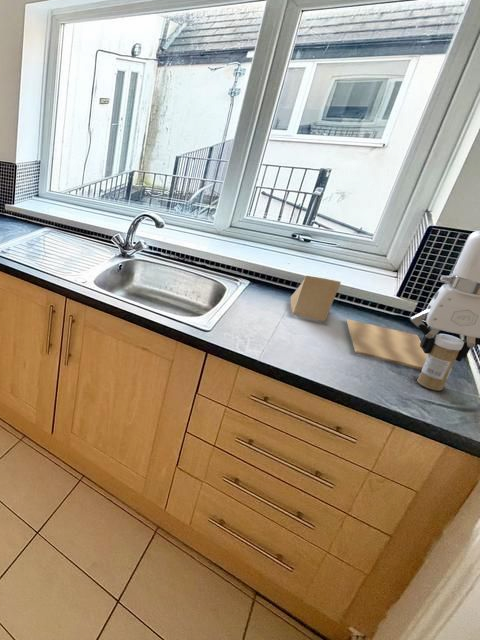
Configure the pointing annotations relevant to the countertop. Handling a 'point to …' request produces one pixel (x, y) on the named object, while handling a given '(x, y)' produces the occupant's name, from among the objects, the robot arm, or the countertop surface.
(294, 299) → the sandwich container
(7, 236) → the countertop surface
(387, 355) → the chopping board
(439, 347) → the sprinkles bottle
